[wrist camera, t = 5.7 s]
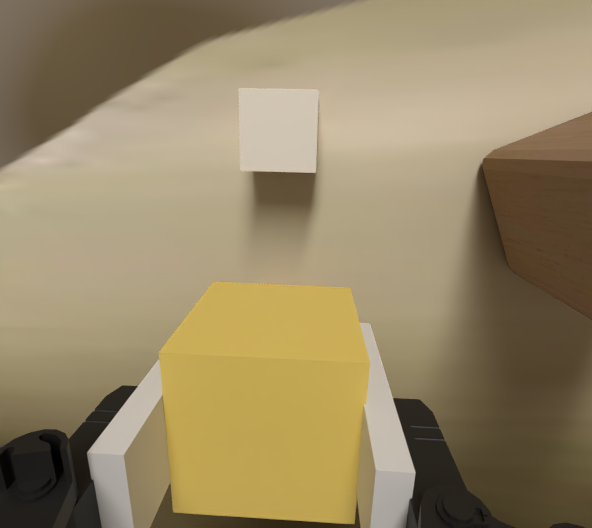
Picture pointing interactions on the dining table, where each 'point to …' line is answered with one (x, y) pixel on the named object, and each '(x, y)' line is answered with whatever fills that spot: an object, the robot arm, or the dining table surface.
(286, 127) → the cream cube
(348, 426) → the mustard cube
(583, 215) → the wooden block
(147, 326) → the dining table surface
